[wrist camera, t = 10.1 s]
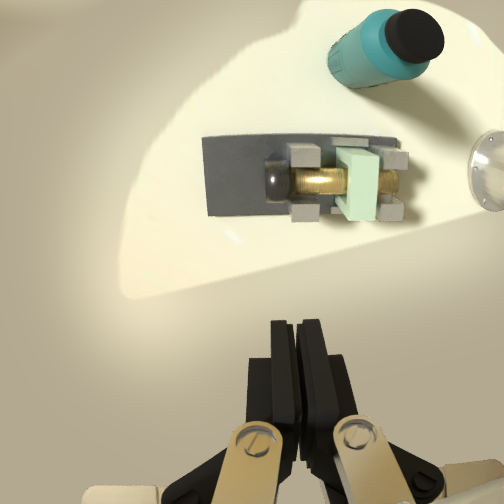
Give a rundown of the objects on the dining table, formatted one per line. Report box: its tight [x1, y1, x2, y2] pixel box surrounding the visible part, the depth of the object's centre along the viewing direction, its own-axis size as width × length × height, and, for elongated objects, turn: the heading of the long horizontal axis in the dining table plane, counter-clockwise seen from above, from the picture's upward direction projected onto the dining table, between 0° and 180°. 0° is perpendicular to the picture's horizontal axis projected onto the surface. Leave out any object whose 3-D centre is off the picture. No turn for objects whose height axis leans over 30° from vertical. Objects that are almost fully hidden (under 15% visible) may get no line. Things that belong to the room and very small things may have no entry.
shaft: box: [265, 160, 398, 203], centre depth 35 cm, size 15×5×5 cm, turn 92°
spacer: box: [335, 147, 379, 221], centre depth 34 cm, size 3×7×7 cm, turn 2°
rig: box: [202, 133, 409, 222], centre depth 36 cm, size 24×10×7 cm, turn 92°
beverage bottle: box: [327, 9, 444, 89], centre depth 24 cm, size 6×7×20 cm
